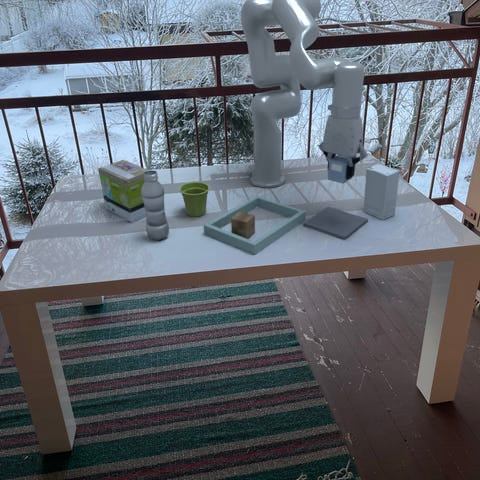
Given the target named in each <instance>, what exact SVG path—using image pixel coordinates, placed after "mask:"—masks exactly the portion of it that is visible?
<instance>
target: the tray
mask: <svg viewBox="0 0 480 480" xmlns="http://www.w3.org/2000/svg"><path fill="white" fill-rule="evenodd" d="M258 207H259V208H260V209H264V210H266V211H267V210H268V211H271V212H273V213H276V214H279V215H282V216H286V217H288V219H286V220H284V221H283V222H282V223H280V224H279V225H277V226H275V227H274V228H272V229H271V230H269V231H268V232H265V234H263V235H262V236H260V237H259V238H256V240H253V241H252V240H251V239H246V238H243V237H241V236H238V235H236V234H233V233H232V231H231V232H230V231H228V230H224V229H223V227H225V226H226V225H229V224H231V218H232V217H234V216H235V215H236V214H237V213H238V212H244V213H248V214H249V213H250V212H251V211H252V210H255V209H256V208H258ZM306 219H307V211H306V210H303V209H300V208H297V207H295V206H292V205H291V206H290V205H288V204H285V203H281V202H280V201H279V202H278V201H276V200H272V199H268V198H265V197H262V196H259V195H255V196H254V197H251V198H250V199H249V200H247V201H245V202H243V203H241V204H240V205H237V206H236V207H234V208H232V209H230V210H229V211H227V212H225V213H223V214H221V215H219V216H217V217H216V218H214V219H212V220H210V221H209V222H206V223H204V224H203V234H204V235H206V236H208V237H211V238H213V239H215V240H218V241H219V242H220V241H221V242H223V243H225V244H227V245H230V246H233V247H235V248H238V249H240V250H242V251H244V252H247V253H249V254H252V255H256V254H258V253H260V252H261V251H263V250H264V249H265V248H267V247H268V246H270V245H271V244H272V243H274V242H276V241H277V240H278V239H279V238H281V237H283V236H284V235H286V234H287V233H288V232H290V231H292V230H293V229H294V228H296V227H297V226H299V225H300V224H302V223H304V222H306V221H307V220H306Z"/></svg>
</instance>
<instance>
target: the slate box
mask: <svg viewBox="0 0 480 480" xmlns="http://www.w3.org/2000/svg"><path fill="white" fill-rule="evenodd" d="M348 165H349V163H348V157H346V156H341V155H336V156H335V157H333V158H331V159H330V160H329V170H327V180H328V181H331V182H335V183H340V184H346V183H347V182H349V181H350V180H352V179H353V177H352V178H350V179H349V180H347V179H346V171H347V166H348Z"/></svg>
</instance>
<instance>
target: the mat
mask: <svg viewBox="0 0 480 480" xmlns="http://www.w3.org/2000/svg"><path fill="white" fill-rule="evenodd" d="M368 220H369V219H368V217H363V216H360V215H356V214H354V213H350V212H346V211H343V210H341V209H337V208H333V207H331V206H326V207H325V208H324V209H322V210H321V211H319V212H317V213H315V215H313V216H312V217H310V218H309V219H307V220H305V221H303V222H302V223H303V227H305V228H308V229H311V230H314V231H317V232H319V233H320V232H321V233H323V234H326V235H328V236H331V237H335V238H337V239H340V240H343V241H346V240H347V239H349V238H350V237H351V236H352V235H354V233H356V232H357V231H358V230H359V229H361V228H362V227H363V226H365V225H366V224H367V223H368V222H369V221H368Z"/></svg>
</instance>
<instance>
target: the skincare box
mask: <svg viewBox="0 0 480 480" xmlns="http://www.w3.org/2000/svg"><path fill="white" fill-rule="evenodd" d="M399 179H400V170H398V169H395V168H392V167H389V166H387V165H384V164H380V163H377V164H375V165H372V166H370V167H367V168H366V174H365V186H364V187H365V188H364V196H363V197H364V199H363V201H364V202H363V210H362V211H363V212H364V213H367V214H368V215H371V216H373V217H375V218H377V219H379V220H382V221H383V220H385V219H388V218H392V217H394V216H395V214H396V208H397V207H396V206H397V198H398V196H397V195H398V190H399V189H398V186H399Z"/></svg>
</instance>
